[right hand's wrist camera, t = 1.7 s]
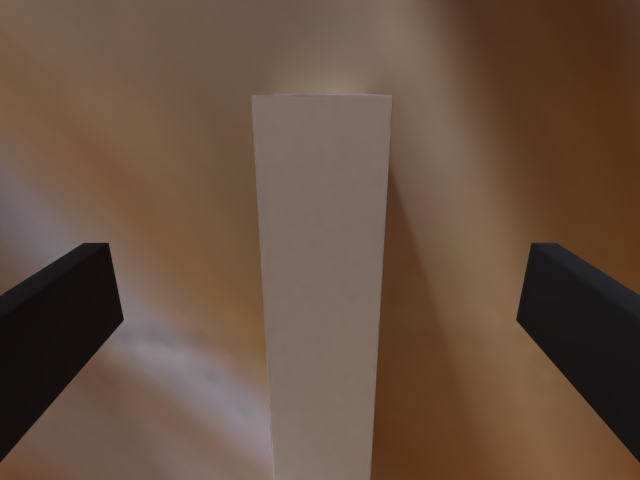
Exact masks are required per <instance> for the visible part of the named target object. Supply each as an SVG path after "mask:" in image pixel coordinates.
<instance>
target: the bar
mask: <svg viewBox="0 0 640 480" xmlns="http://www.w3.org/2000/svg"><path fill="white" fill-rule="evenodd" d="M392 103H393V97H392V95H380V94H269V95H253V96H251V110H252V126H253V143H254V160H255V177H256V193H257V210H258V227H259V244H260V260H261V277H262V294H263V311H264V327H265V344H266V361H267V378H268V394H269V411H270V428H271V445H272V461H273V478H274V480H370V478H371V461H372V444H373V427H374V410H375V393H376V376H377V359H378V342H379V325H380V308H381V291H382V274H383V257H384V240H385V223H386V205H387V188H388V171H389V154H390V137H391V120H392Z"/></svg>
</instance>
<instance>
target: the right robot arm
mask: <svg viewBox="0 0 640 480" xmlns="http://www.w3.org/2000/svg"><path fill="white" fill-rule="evenodd" d="M123 320H124V319H123V314H122V308H121V303H120V298H119V293H118V288H117V283H116V278H115V273H114V268H113V263H112V258H111V253H110V248H109V243H83V244H81V245H80V246H78V247H77V248H75V249H74V250H72V251H70V252H69V253H67V254H66V255H64V256H62V257H61V258H59V259H58V260H56V261H55V262H53V263H51V264H50V265H48V266H47V267H45V268H43V269H42V270H40V271H39V272H37V273H35V274H34V275H32V276H31V277H29V278H28V279H26V280H24V281H23V282H21V283H20V284H18V285H16V286H15V287H13V288H12V289H10V290H9V291H7V292H5V293H4V294H2V295H1V296H0V462H1V461H2V460H3V459H4V458H5V456H6V455H7V454H8V453H9V452H10V451H11V450H12V448H13V447H14V446H15V445H16V444H17V443H18V441H19V440H20V439H21V438H22V437H23V436H24V435H25V433H26V432H27V431H28V430H29V429H30V428H31V426H32V425H33V424H34V423H35V422H36V421H37V420H38V418H39V417H40V416H41V415H42V414H43V413H44V412H45V410H46V409H47V408H48V407H49V406H50V405H51V403H52V402H53V401H54V400H55V399H56V398H57V397H58V395H59V394H60V393H61V392H62V391H63V390H64V388H65V387H66V386H67V385H68V384H69V383H70V382H71V380H72V379H73V378H74V377H75V376H76V375H77V373H78V372H79V371H80V370H81V369H82V368H83V367H84V365H85V364H86V363H87V362H88V361H89V360H90V358H91V357H92V356H93V355H94V354H95V353H96V352H97V350H98V349H99V348H100V347H101V346H102V345H103V343H104V342H105V341H106V340H107V339H108V338H109V337H110V335H111V334H112V333H113V332H114V331H115V330H116V328H117V327H118V326H119V325H120V324H121V323H122V322H123ZM516 320H517V322H518V323H519V324H520V325H521V326H522V327H523V328H524V330H525V331H526V332H527V333H528V334H529V335H530V337H531V338H532V339H533V340H534V341H535V342H536V343H537V345H538V346H539V347H540V348H541V349H542V350H543V352H544V353H545V354H546V355H547V356H548V357H549V358H550V360H551V361H552V362H553V363H554V364H555V365H556V367H557V368H558V369H559V370H560V371H561V372H562V373H563V375H564V376H565V377H566V378H567V379H568V380H569V382H570V383H571V384H572V385H573V386H574V387H575V388H576V390H577V391H578V392H579V393H580V394H581V395H582V397H583V398H584V399H585V400H586V401H587V402H588V403H589V405H590V406H591V407H592V408H593V409H594V410H595V412H596V413H597V414H598V415H599V416H600V417H601V418H602V420H603V421H604V422H605V423H606V424H607V425H608V426H609V428H610V429H611V430H612V431H613V432H614V433H615V435H616V436H617V437H618V438H619V439H620V440H621V441H622V443H623V444H624V445H625V446H626V447H627V448H628V450H629V451H630V452H631V453H632V454H633V455H634V456H635V458H636V459H637V460H638V461H639V462H640V296H639V295H638V294H636V293H635V292H633V291H631V290H630V289H628V288H627V287H625V286H624V285H622V284H620V283H619V282H617V281H616V280H614V279H612V278H611V277H609V276H608V275H606V274H605V273H603V272H601V271H600V270H598V269H597V268H595V267H593V266H592V265H590V264H589V263H587V262H585V261H584V260H582V259H581V258H579V257H578V256H576V255H574V254H573V253H571V252H570V251H568V250H566V249H565V248H563V247H562V246H560V245H559V244H557V243H531V248H530V253H529V258H528V263H527V268H526V273H525V278H524V283H523V288H522V293H521V298H520V303H519V308H518V314H517V319H516Z"/></svg>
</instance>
